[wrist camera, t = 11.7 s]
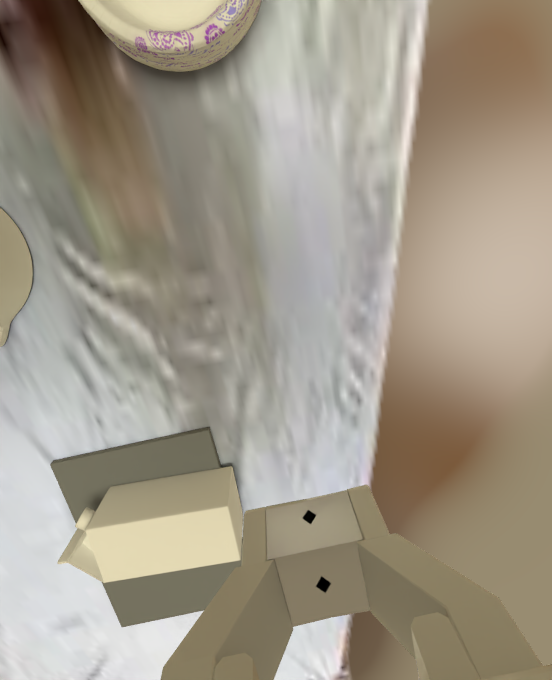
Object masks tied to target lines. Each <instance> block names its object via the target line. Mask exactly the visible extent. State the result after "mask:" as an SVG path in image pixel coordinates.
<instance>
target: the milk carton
mask: <svg viewBox="0 0 552 680" xmlns="http://www.w3.org/2000/svg"><path fill="white" fill-rule="evenodd" d="M75 527H76V528H78V529H77V530H76V532H75V534H74V535H73V537H72V539H71V540H70V542H69V544H68V545H67V547H66V549H65V550H64V552H63V554H62V555H61V557H60V559H59V560H58V564H62V563H69V564H71V565H73V566H75V567H76V568H78V569H80V570H82V571H84V572H85V573H87V574H89V575H91V576H93V577H94V578H96V579H98V580H100V581H102V582H103V583H106V582H112V581H118V580H124V579H131V578H137V577H143V576H149V575H155V574H161V573H167V572H173V571H179V570H185V569H191V568H197V567H203V566H209V565H215V564H221V563H227V562H233V561H239V560H241V545H242V527H243V512H242V508H241V503H240V498H239V494H238V489H237V485H236V480H235V476H234V472H233V468H232V466H231V467H224V468H218V469H212V470H206V471H200V472H194V473H188V474H182V475H176V476H170V477H164V478H158V479H152V480H146V481H140V482H134V483H128V484H122V485H117V486H111V487H110V488H109V489H108V491H107V493H106V495H105V496H104V498H103V500H102V501H101V503H100V505H99V507H98V508H97V510H96V512H95V511H94V510H92V509H90V508H88V507H86V508H85V510H84V511H83V513H82V514H81V516H80V518H79V520H78V521H77V523H76V525H75Z"/></svg>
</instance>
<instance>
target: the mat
mask: <svg viewBox="0 0 552 680" xmlns="http://www.w3.org/2000/svg"><path fill="white" fill-rule="evenodd" d="M50 465H51V468H52V470H53V472H54V475H55V477H56V479H57V481H58V484H59V486H60V488H61V490H62V493H63V495H64V497H65V499H66V502H67V504H68V506H69V509H70V511H71V513H72V515H73V518H74V520H75V522H76V523H77V521H78V520H79V518H80V516H81V514H82V513H83V511H84V510H85V508H86V507H88V508H90V509H92V510H94V511H95V512H96V510H97V508H98V507H99V505H100V503H101V501H102V500H103V498H104V496H105V495H106V493H107V491H108V489H109V488H110V487H111V486H117V485H122V484H128V483H134V482H140V481H146V480H152V479H158V478H164V477H170V476H176V475H182V474H188V473H194V472H200V471H206V470H212V469H218V468H221V465H220V461H219V458H218V455H217V451H216V448H215V444H214V441H213V438H212V434H211V431H210V428H209V427H206V428H202V429H197V430H192V431H188V432H183V433H179V434H174V435H169V436H165V437H160V438H155V439H151V440H146V441H142V442H137V443H132V444H128V445H123V446H119V447H114V448H109V449H105V450H100V451H96V452H91V453H86V454H82V455H77V456H73V457H68V458H63V459H59V460H54V461H53V462H52V463H51V464H50ZM242 544H243V539H242ZM241 564H242V545H241V560H239V561H233V562H227V563H221V564H215V565H209V566H203V567H197V568H191V569H185V570H179V571H173V572H167V573H161V574H155V575H149V576H143V577H137V578H131V579H124V580H118V581H112V582H106V583H103V582H102V583H103V586H104V588H105V590H106V593H107V595H108V597H109V599H110V602H111V604H112V606H113V608H114V611H115V613H116V615H117V617H118V620H119V622H120V624H121V627H126V626H131V625H135V624H140V623H145V622H150V621H155V620H159V619H164V618H169V617H174V616H179V615H183V614H188V613H193V612H198V611H203V610H205V609H206V607H207V606H208V605H209V603H210V602H211V600H212V599H213V598H214V596H215V595H216V594H217V592H218V591H219V589H220V588H221V587H222V585H223V584H224V582H225V581H226V580H227V578H228V577H229V576H230V574H231V573H232V571H233V570H234V569H235V568H236V567H241Z"/></svg>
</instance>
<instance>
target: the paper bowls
mask: <svg viewBox="0 0 552 680" xmlns="http://www.w3.org/2000/svg"><path fill="white" fill-rule="evenodd" d="M78 1H79V2H80V3H81V4H82V6H83V7H84V9H85V10H86V11H87V12H88V14H89V15H90V16H91V17H92V18H93V20H94V21H95V22H96V23H97V25H98V26H99V27H100V28H101V30H102V31H103V32H104V33H105V34H106V35H107V36H108V37H109V39H110V40H111V41H112V42H113V43H114V44H115V45H116V46H117V47H118V48H119V49H120V50H122V51H123V52H124V53H126V54H127V55H128V56H130V57H131V58H133V59H134V60H136V61H139V62H140V63H143V64H145V65H148V66H150V67H153V68H156V69H160V70H166V71H175V72H182V71H183V72H185V71H193V70H197V69H201V68H204V67H207V66H209V65H211V64H213V63H215V62H217V61H218V60H220V59H222V58H223V57H224V56H226V55H227V54H228V53H229V52H230V51H232V50H233V49H234V47H235V46H236V45H238V43H239V42H240V41H241V40H242V39H243V37H244V36H245V35H246V34H247V32H248V30H249V28H250V27H251V25H252V23H253V21H254V19H255V17H256V15H257V12H258V10H259V7H260V4H261V0H78Z"/></svg>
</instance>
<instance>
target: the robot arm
mask: <svg viewBox="0 0 552 680" xmlns="http://www.w3.org/2000/svg"><path fill="white" fill-rule="evenodd" d="M32 277H33V269H32V261H31V256H30V252H29V249H28V246H27V244H26V241H25V239H24V237H23V235H22V234H21V232H20V230H19V229H18V227H17V226H16V224H15V223H14V222H13V220H12V219H11V218H10V217H9V216H8V215H7V214H6V213H5V212H4V211H3V210H2V209H1V208H0V347H2V346H3V345H4V344H5V342H6V340H7V336H8V332H9V327H10V323H11V321H12V319H13V318H14V317H15V315H16V314H17V313H18V312H19V311H20V309H21V308H22V307H23V305H24V304H25V302H26V300H27V298H28V295H29V293H30V289H31V285H32ZM370 610H371V613H372V614H373V615H374V616H375V617H376V618H377V619H378V620H379V621H380V622H381V623H382V625H384V627H385V628H387V630H388V631H389V632H390V633H391V634H392V635H393V636H394V637H395V638H396V639H397V640H398V641H399V642H400V643H401V644H402V645H403V646H404V647H405V649H407V651H408V652H409V653H410V654H411V655H412V656H413V657H414V658H415V659H416V663H417V670H418V676H419V680H552V664H550V665H546V666H543V665H542V663H541V662H540V660H539V659H538V657H537V655H536V654H535V652H534V651H533V650H532V648H531V646H530V645H529V643H528V642H527V640H526V639H525V637H524V635H523V634H522V633H521V631H520V629H519V628H518V626H517V625H516V623H515V622H514V620H513V619H512V617H511V616H510V614H509V613H508V611H507V609H506V608H505V606H504V605H503V603H502V602H501V600H500V599H499V597H497V596H495V595H494V594H492V593H490V592H489V591H487V590H486V589H484V588H483V587H481V586H479V585H478V584H476V583H475V582H473V581H471V580H470V579H468V578H467V577H465V576H464V575H462V574H460V573H459V572H457V571H455V570H454V569H452V568H451V567H449V566H447V565H446V564H444V563H443V562H441V561H440V560H438V559H436V558H435V557H433V556H432V555H430V554H428V553H427V552H425V551H424V550H422V549H421V548H419V547H417V546H416V545H414V544H413V543H411V542H409V541H408V540H406V539H405V538H403V537H401V536H400V535H398V534H391V535H390V534H389V532H388V529H387V527H386V525H385V522H384V520H383V518H382V515H381V513H380V511H379V509H378V506H377V504H376V501H375V500H374V497H373V495H372V492H371V490H370V488H369V486H368V485H363V486H359V487H355V488H350V489H347V490H345V491H340V492H336V493H331V494H327V495H322V496H318V497H313V498H309V499H303V500H298V501H292V502H287V503H282V504H277V505H271V506H266V507H262V508H257V509H252V510H248V511H246V512H245V514H244V524H243V544H242V564H241V567H236V568H235V569H234V570H233V571H232V573H231V574H230V576H229V577H228V578H227V580H226V581H225V582H224V584H223V585H222V587H221V588H220V589H219V591H218V592H217V594H216V595H215V596H214V598H213V599H212V600H211V602H210V603H209V605H208V606H207V607H206V609H205V610H204V612H203V613H202V614H201V616H200V617H199V618H198V620H197V621H196V623H195V624H194V625H193V627H192V628H191V630H190V631H189V632H188V634H187V635H186V637H185V638H184V639H183V641H182V642H181V643H180V645H179V646H178V648H177V649H176V650H175V652H174V653H173V655H172V656H171V657H170V659H169V660H168V661H167V663H166V664H165V666H164V667H163V671H162V676H161V680H273V679H274V677H275V674H276V672H277V669H278V667H279V664H280V662H281V659H282V657H283V654H284V651H285V649H286V646H287V644H288V641H289V639H290V636H291V634H292V631H293V627H294V626H298V625H302V624H306V623H310V622H315V621H319V620H323V619H327V618H331V617H337V616H342V615H348V614H353V613H359V612H365V611H370Z"/></svg>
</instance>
